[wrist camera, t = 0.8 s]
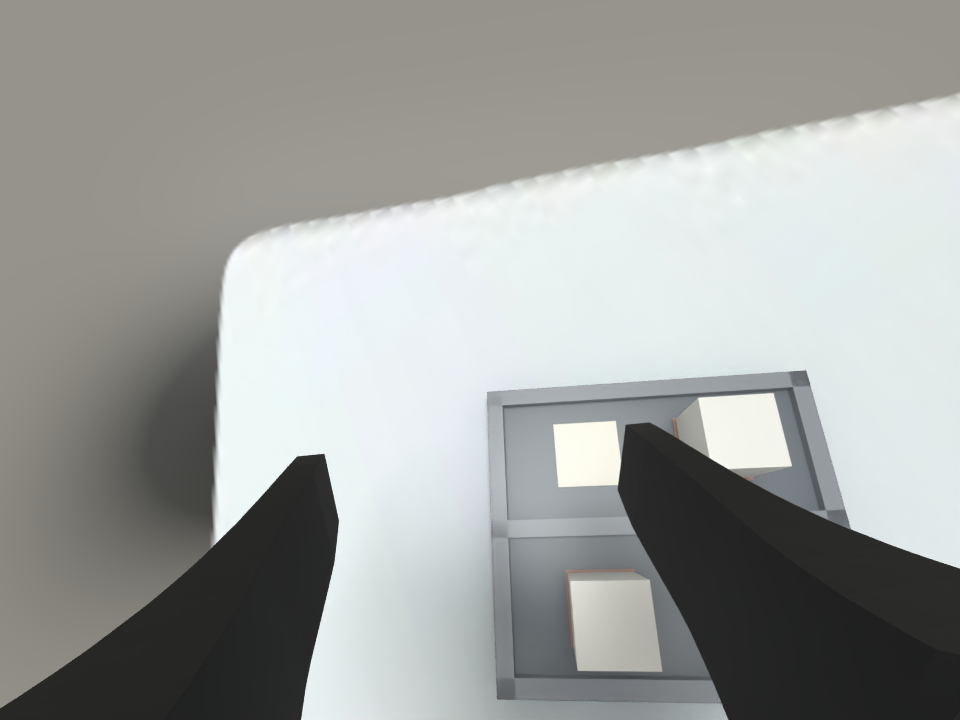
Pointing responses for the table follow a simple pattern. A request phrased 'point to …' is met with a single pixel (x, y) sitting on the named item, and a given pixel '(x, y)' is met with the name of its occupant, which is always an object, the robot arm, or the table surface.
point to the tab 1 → (613, 622)
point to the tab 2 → (737, 432)
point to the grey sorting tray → (609, 523)
